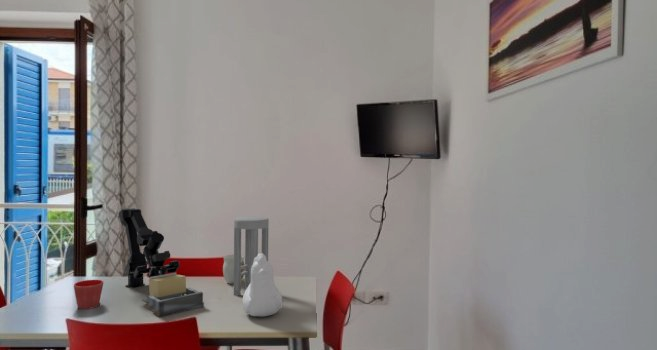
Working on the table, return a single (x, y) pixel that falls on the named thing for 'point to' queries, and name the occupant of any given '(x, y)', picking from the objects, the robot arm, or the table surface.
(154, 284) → the yellow box
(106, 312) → the table surface
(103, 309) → the table surface
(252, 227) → the stool
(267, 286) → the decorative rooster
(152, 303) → the dock
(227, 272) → the pitcher
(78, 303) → the flower pot
